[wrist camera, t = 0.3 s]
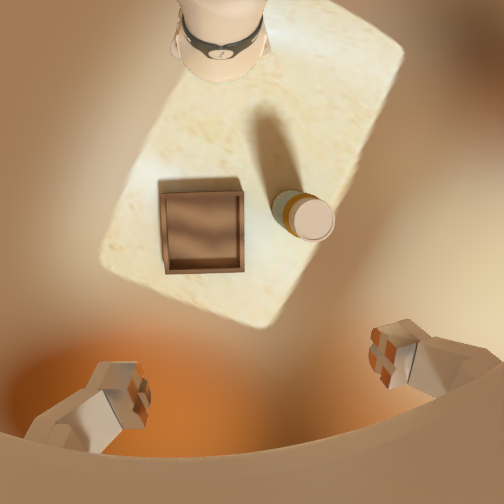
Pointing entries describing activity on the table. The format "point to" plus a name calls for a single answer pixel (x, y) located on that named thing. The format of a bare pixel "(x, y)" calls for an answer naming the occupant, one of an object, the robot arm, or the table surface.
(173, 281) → the table surface
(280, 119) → the table surface
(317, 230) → the bottle
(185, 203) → the serving tray
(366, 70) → the table surface
